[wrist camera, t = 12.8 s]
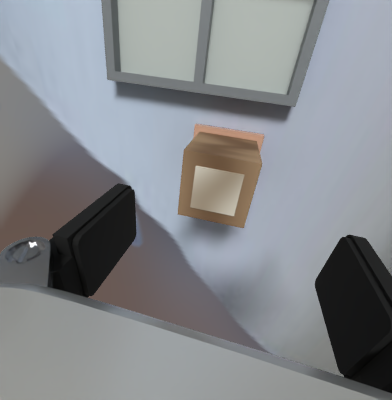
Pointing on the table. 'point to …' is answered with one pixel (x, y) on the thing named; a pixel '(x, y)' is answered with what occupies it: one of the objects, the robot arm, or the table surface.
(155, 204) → the table surface
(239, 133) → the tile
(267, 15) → the cubby strip
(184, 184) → the brown labeled box
